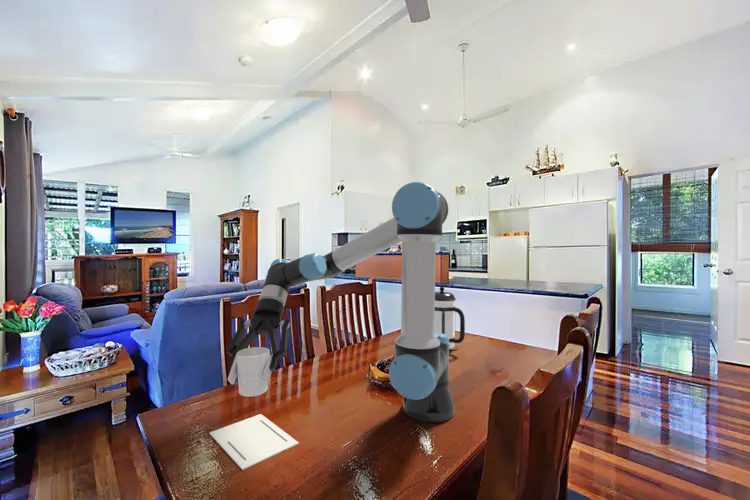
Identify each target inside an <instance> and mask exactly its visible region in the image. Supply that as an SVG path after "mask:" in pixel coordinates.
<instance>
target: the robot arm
mask: <svg viewBox="0 0 750 500" xmlns="http://www.w3.org/2000/svg"><path fill="white" fill-rule="evenodd" d="M391 212H392V215H393V217H392V218H391V219H388V220H386V221H385V222H383V223H381V224H380V225H378V226H375V227H374V228H372V229H371V230H369V231H367V232H366V231H365V232H364V233H363V234H361V235H359V236H357V237H355V238H354V239H352V240H350V241H348V242H346V243H345V244H343V245H341V246H339V247H338V248H336V249H334V250H332V251H330V252H328V253H326V254H325V255H322V254H320V253H319V252H313V253H310V254H309V253H308V254H305V255H303V256H301V257H299V258H296V259H294V260H288V259H286V258H282V259H281V258H276V259H274V260H273V261H272V262H271V263H270V267H269V268H268V270H267V272H266V277H265V279H264V283H263V286H262V288H261V289H262V290H261V293H260V294H259V297H258V302H257V304H256V307H255V310H254V314H253V316H252V317H251V318H250V319H248V320H245V319H244V318H241V319H240V320H239V324H238V325H239V326H238V328H237V330H236V331H235V334H234V335H233V337H232V339H231V341H230V343H229V345H228V346H227V348H226V352H227V353H228V355H229V356H230V357H231V358H230V361H229V364H228V368H229V369H230V371H229V374H228V377H227V381H228V382H229V384H230V385H235V383H236V381H237V378H238V374H237V352H238V351H240V350H243V349H246V348H249V347H250V345H251V344H252V343H253V341H254V340H255V339H256V338H258V336H259V335H260V336H261V335H266V336H269V337H268V338H269V341H270V348H271V353H272V354H270V355H269V357H268V360H267V363H266V367H265V371H264V374H263V378H262V381H263V383H264V385H268V386H269V383H270V378H271V373H272V371H275V370H276V369H277V364H278V360H279V359H280V358H285V357H287V355H288V353H287V351H288V342H289V341H288V340H289V339H288V338H289V331H290V329H291V323H290V320H289V319H285V320H282V318H283V313H284V310H285V305H286V302H287V298H288V295H289V290H290V288H292V287H295V286H296V287H297V286H299V285H303V284H305V283H308V282H314V281H320V280H325V279H333V278H336V277H339V276H340V275H341V274H342V272H343V271H346V270H348V269H350V268H352V267H354V266H356V265H358V264H359V263H362V262H364V261H365V260H368V259H370V258H371V257H373V256H375V255H377V254H379V253H382V252H384V251H385V250H387V249H390V248H391V247H393V246H395V245H397V244H399V243H402V244H401V245H402V252H401V253H402V254H401V256H402V257H401V258H402V259H401V261H402V262H401V307H400V308H401V313H400V314H401V315H400V335H398V336H397V337H396V338H395V340H394V359H393V360H392V361H391V363H390V365H389V369H388V370H389V371H388V377H389V381H390V383H391V386H392V388H393V389H394V390H395V391H396V392H397V393H398V394H399V395H400V396H402V397H404V398H403V400H402V409H403V412H404V413H405V415H407V416H408V417H409V418H411V419H414V420H416V421H419V422H425V423H441V422H446V421H448V420H450V419H452V418H453V417H454V415H455V411H456V410H455V408H456V407H455V402H454V400H453V396H452V392H451V389H450V386H449V385H450V384H449V380H450V378H449V374H450V373H449V370H450V367H449V365H450V361H449V360H450V359H449V357H450V356H449V355H450V353H449V352H450V349H449V346H450V345H449V338H448V336H447V335H445V334H442V333H437V332H434V318H435V292H436V257H437V256H436V252H437V251H436V249H437V247H436V245H437V242H438V241H439V240H441V238H442V237H443V225H444V223H445V222H446V220H447V218H448V215H449V205H448V202H447V199H446V197H444V195H443V194H442V193H440V192H439V191H437V189H436V188H435V187H434V186H433V185H430V184H429V183H425V182H422V181H413V182H412V181H411V182H409V183H406V184H404V185H403V186H401V187H400V188H399V189H398V190H397V191H396V192H395V195H394V196H393V199H392V201H391ZM250 326H251V327H250ZM249 327H250V328H249ZM279 327H280V328H281V332H280V333H281V334H280V335H281V336H280V343H279V349H278V343H277V338H276V337H277V336H276V330H277V329H278V328H279ZM248 329H249V330H248ZM247 330H248V332H247ZM246 332H247V333H246Z"/></svg>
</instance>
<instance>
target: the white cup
mask: <svg viewBox="0 0 750 500" xmlns="http://www.w3.org/2000/svg"><path fill="white" fill-rule="evenodd" d="M270 352H271V350H270V349H269V348H268V347H262V346H261V347H260V346H258V347H257V346H256V347H255V346H254V347H248V348H246V349H243V350H240V351H238V352H237V383H238V393H239V395H240V396H242V397H248V398H249V397H251V398H252V397H257V396H261V395H262V394H264V393H266V392H267V390H268V387H269V384H268V385H264V383H263V381H262V378H263V374H264V371H265V367H266V363H267V360H268V357H269V355H271V353H270Z"/></svg>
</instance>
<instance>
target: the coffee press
mask: <svg viewBox="0 0 750 500" xmlns="http://www.w3.org/2000/svg"><path fill="white" fill-rule="evenodd" d="M456 299H457V298H456V297H455V295H454V294H453V293H452V292H450V291H445V287H444V286H440V287H439V291H435V318H434V332H437V333H442V334H445V335H447V336H448V338H449V345H450V346H449V350H451V349H453V350H454V351H458V350H459V349H458V347H457V345H456V344H460V343H463V341H464V339H465V335H466V333H465V332H466V331H465V330H466V327H465V326H466V325H465V324H466V323H465V322H466V321H465V320H466V319H465V314H464V311H462V309H460V308H458V307H456ZM456 313H457V314H458V315H459V327H460V328H459V331H460V332H459V338H458V339H457V338H456ZM455 347H456V348H455Z"/></svg>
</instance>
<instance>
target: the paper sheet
mask: <svg viewBox="0 0 750 500" xmlns="http://www.w3.org/2000/svg"><path fill="white" fill-rule="evenodd" d="M209 435H210V436H211V437H212V438H213V440H215V441H216V443H217V444H218V445H219V446H220V447H221V448H222V449H223V451H225V453H226V454H227V455H228V456H229V457H230V458H231V459H232V460H233V461H234V463H235V464H236V465H237V466H238V467H239V468H240V469H241V470H242V471H244V470H246V469H249V468H251V467H253V466H255V465H257V464H260V463H261V462H263V461H266V460H268V459H269V458H272V457H274V456H276V455H278V454H280V453H282V451H283V452H284V450H285V451H287V450H290V448H293V447H295V446H298V445H299V444H300V442H299V441H297V440H296V439H295V438H294V437H292V436H291V435H290V434H288V433H287V432H285V431H284V430H283V429H281V428H280V427H279V426H278V425H276V424H275V423H274V422H272V421H271V420H270V419H268V418H267V417H266V416H265V415H263V414H262V413H260V414H256V415H254V416H251V417H249V418H245V419H243V420H240V421H238V422H235V423H232V424H229V425H225V426H224V427H221V428H218V429H215V430H213V431H210V432H209Z"/></svg>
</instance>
